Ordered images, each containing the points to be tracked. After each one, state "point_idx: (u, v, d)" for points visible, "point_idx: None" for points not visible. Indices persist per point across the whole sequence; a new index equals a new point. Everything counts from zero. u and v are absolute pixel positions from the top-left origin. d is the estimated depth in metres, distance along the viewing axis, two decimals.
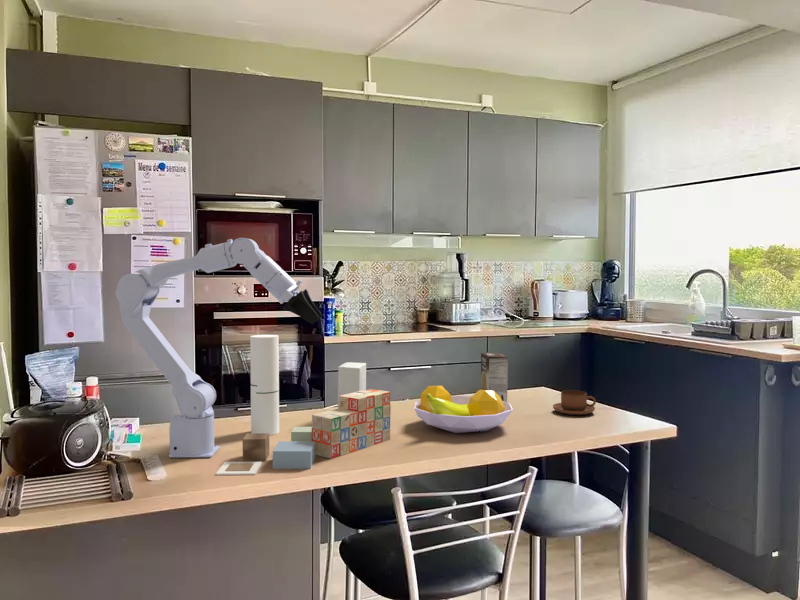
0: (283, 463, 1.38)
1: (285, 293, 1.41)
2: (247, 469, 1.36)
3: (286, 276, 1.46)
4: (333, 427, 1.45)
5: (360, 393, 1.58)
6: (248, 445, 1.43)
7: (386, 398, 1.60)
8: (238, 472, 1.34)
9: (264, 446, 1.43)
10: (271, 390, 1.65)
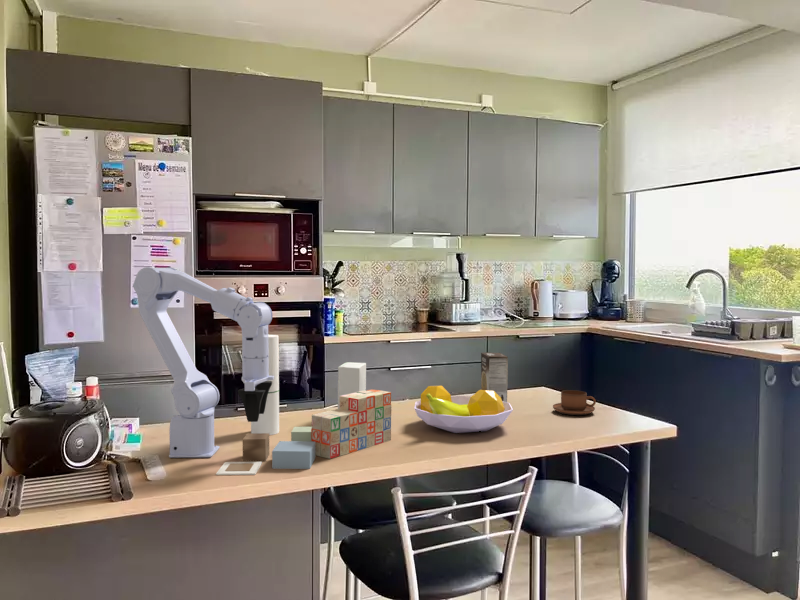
0: (283, 463, 1.38)
1: (250, 384, 1.37)
2: (247, 469, 1.36)
3: (265, 365, 1.43)
4: (332, 427, 1.45)
5: (361, 393, 1.58)
6: (248, 445, 1.43)
7: (386, 399, 1.59)
8: (238, 472, 1.34)
9: (264, 446, 1.43)
10: (271, 390, 1.65)
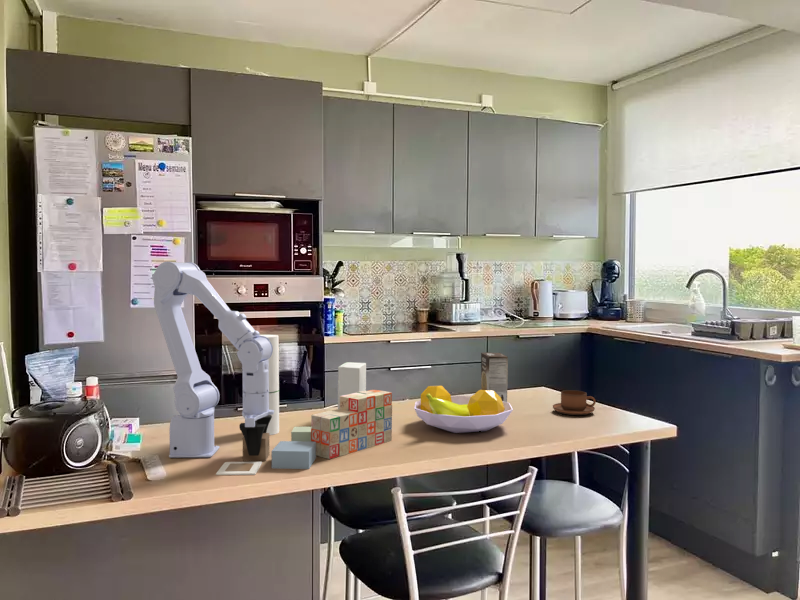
0: (282, 462, 1.38)
1: (250, 420, 1.38)
2: (247, 469, 1.36)
3: (265, 400, 1.44)
4: (331, 428, 1.45)
5: (361, 393, 1.58)
6: None
7: (387, 399, 1.59)
8: (238, 472, 1.34)
9: (264, 446, 1.43)
10: (271, 390, 1.65)
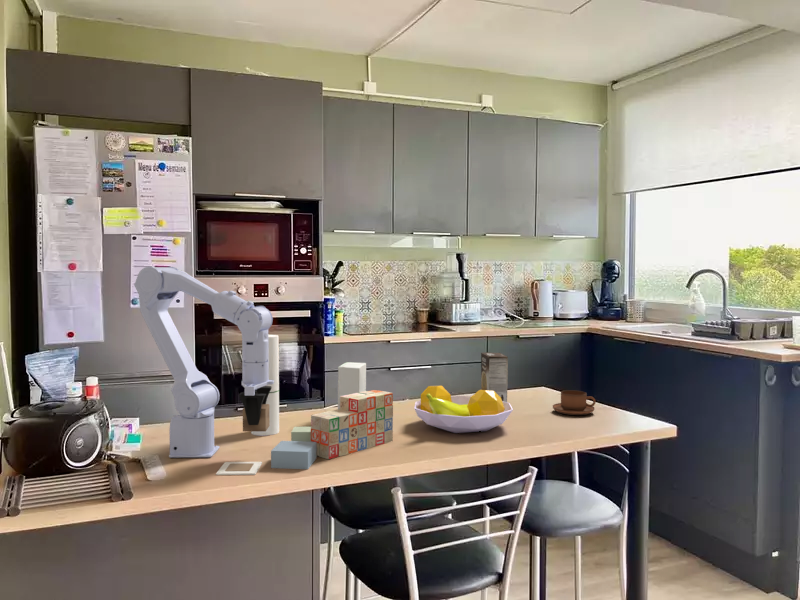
0: (281, 462, 1.38)
1: (250, 388, 1.38)
2: (247, 469, 1.36)
3: (265, 370, 1.43)
4: (331, 428, 1.45)
5: (362, 394, 1.57)
6: None
7: (388, 399, 1.59)
8: (238, 472, 1.34)
9: (264, 416, 1.43)
10: (271, 390, 1.65)
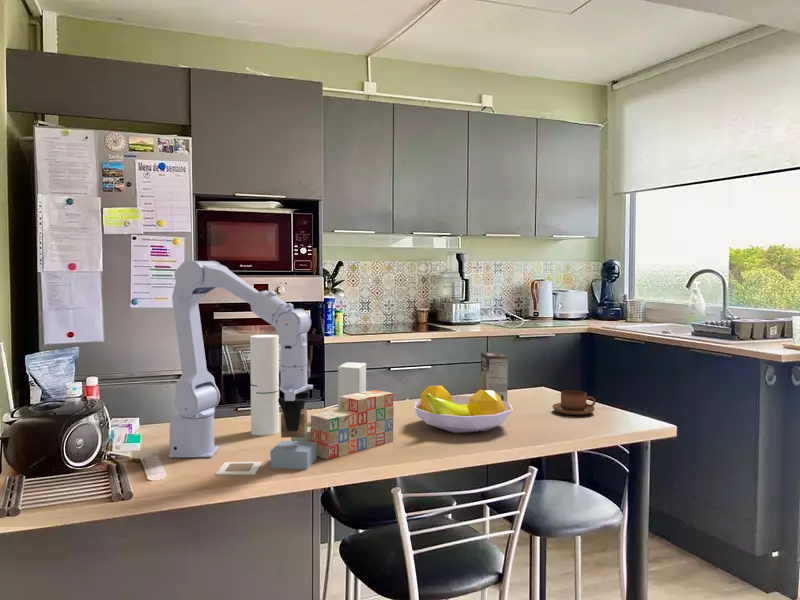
0: (281, 462, 1.38)
1: (290, 393, 1.34)
2: (247, 469, 1.36)
3: (304, 374, 1.40)
4: (330, 428, 1.44)
5: (362, 394, 1.57)
6: None
7: (388, 400, 1.58)
8: (238, 472, 1.34)
9: (303, 421, 1.39)
10: (271, 390, 1.65)
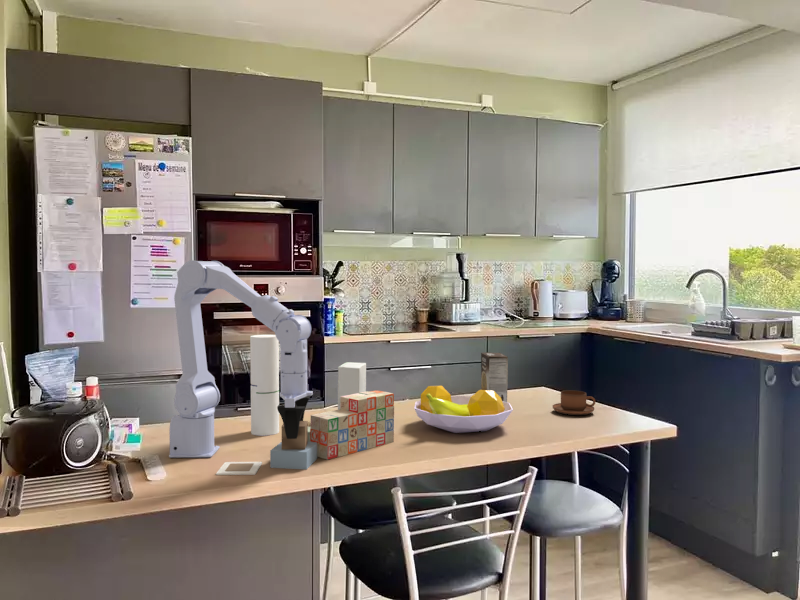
0: (280, 462, 1.38)
1: (290, 400, 1.34)
2: (247, 469, 1.36)
3: (304, 381, 1.40)
4: (330, 428, 1.44)
5: (362, 394, 1.57)
6: None
7: (389, 400, 1.58)
8: (238, 472, 1.34)
9: (304, 433, 1.39)
10: (271, 390, 1.65)
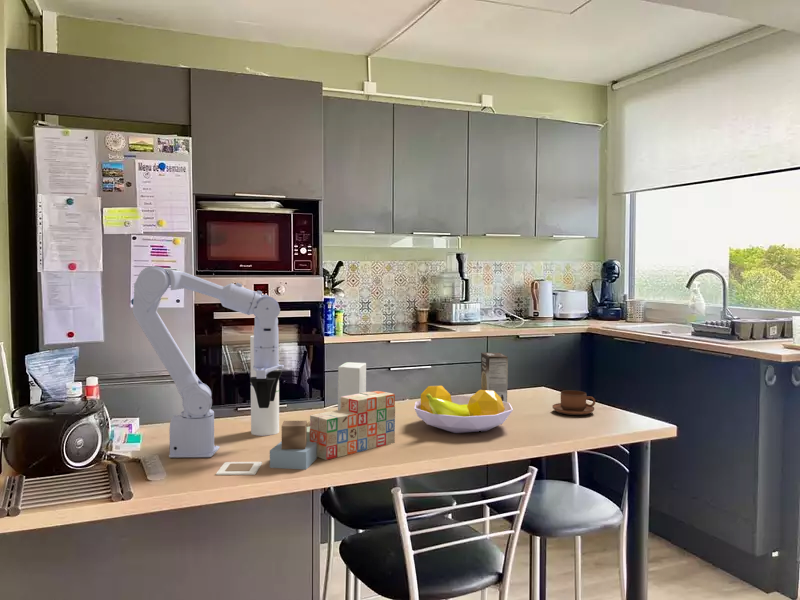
0: (280, 462, 1.38)
1: (261, 372, 1.45)
2: (247, 469, 1.36)
3: (275, 355, 1.51)
4: (329, 428, 1.44)
5: (363, 394, 1.56)
6: (287, 432, 1.39)
7: (390, 401, 1.57)
8: (238, 472, 1.34)
9: (304, 433, 1.39)
10: None
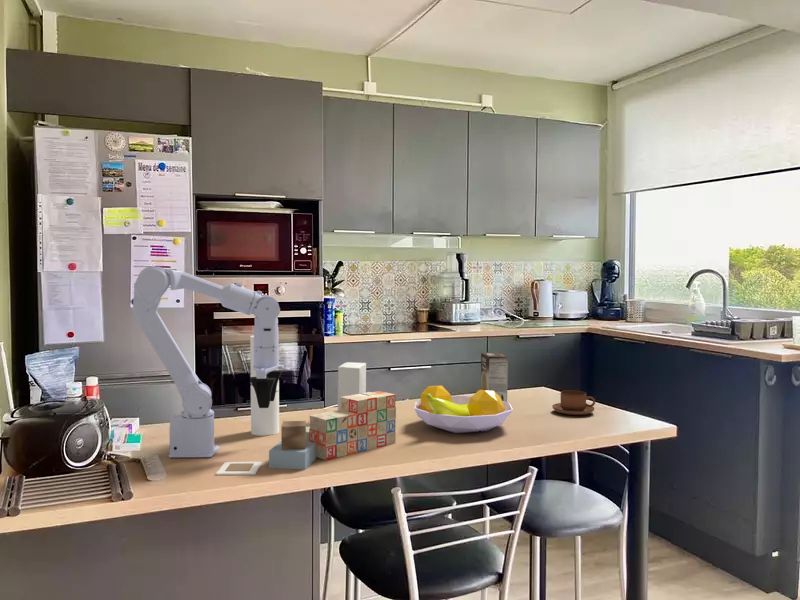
0: (279, 462, 1.38)
1: (261, 372, 1.45)
2: (247, 469, 1.36)
3: (275, 355, 1.51)
4: (328, 429, 1.44)
5: (363, 395, 1.56)
6: (287, 433, 1.39)
7: (390, 401, 1.57)
8: (238, 472, 1.34)
9: (304, 433, 1.39)
10: None
